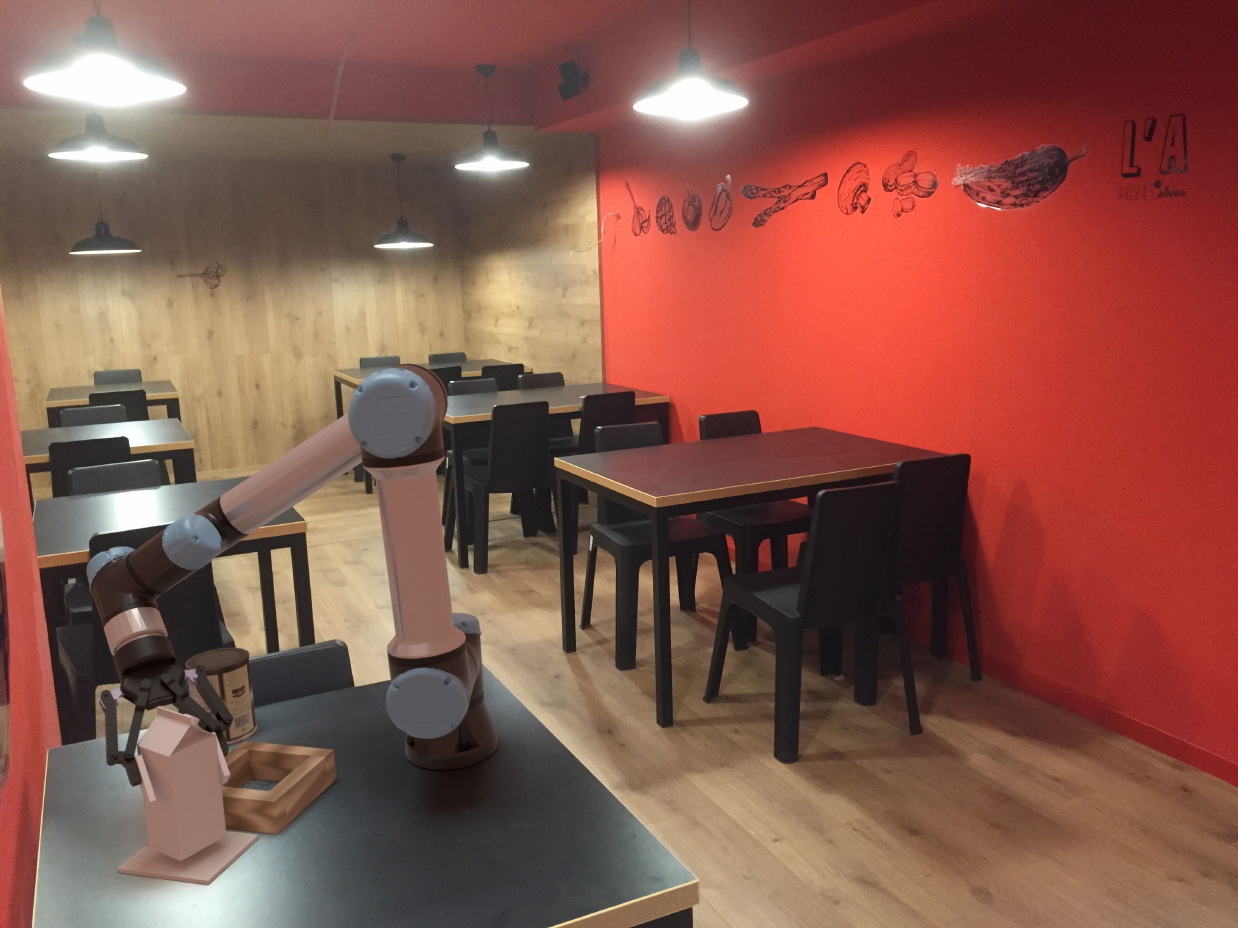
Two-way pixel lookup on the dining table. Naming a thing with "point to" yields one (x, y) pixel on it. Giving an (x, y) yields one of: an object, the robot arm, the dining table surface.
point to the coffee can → (228, 688)
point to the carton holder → (298, 786)
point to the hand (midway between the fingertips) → (189, 791)
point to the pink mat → (191, 860)
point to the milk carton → (182, 785)
